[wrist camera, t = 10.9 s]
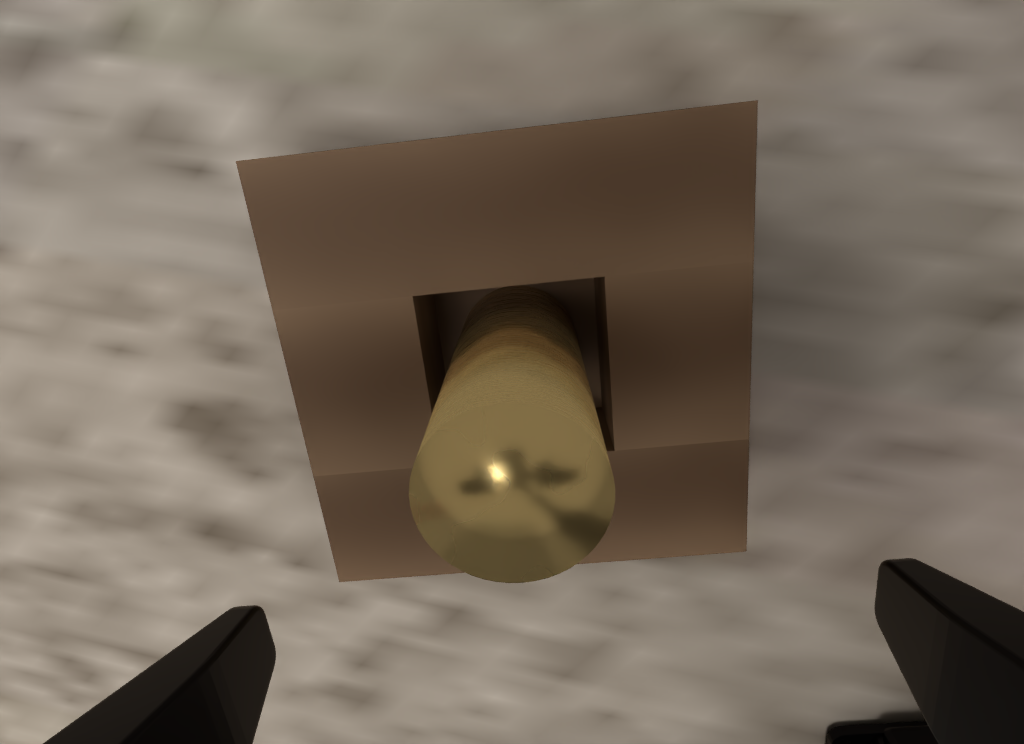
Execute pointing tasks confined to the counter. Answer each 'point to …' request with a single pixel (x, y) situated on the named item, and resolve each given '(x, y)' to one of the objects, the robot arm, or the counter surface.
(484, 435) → the brass pin
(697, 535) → the walnut socket block
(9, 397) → the counter surface
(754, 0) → the counter surface
